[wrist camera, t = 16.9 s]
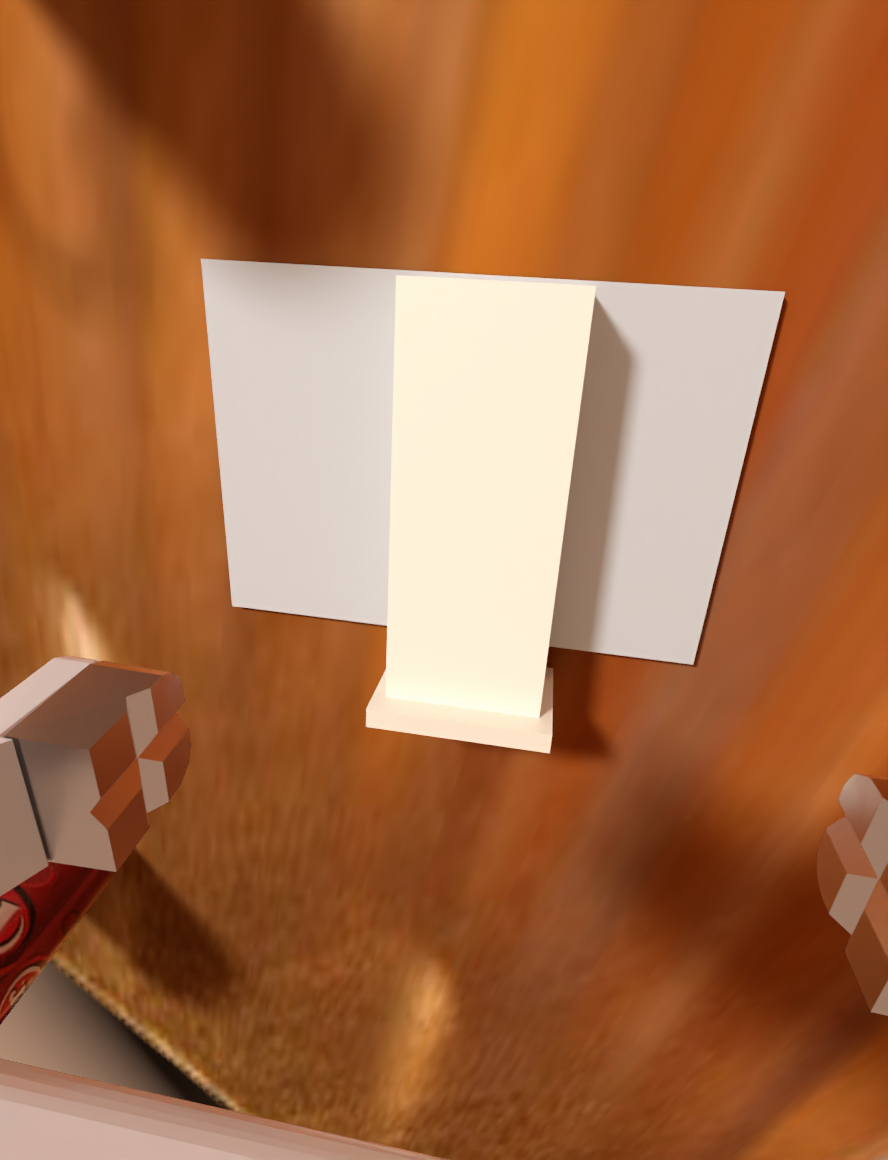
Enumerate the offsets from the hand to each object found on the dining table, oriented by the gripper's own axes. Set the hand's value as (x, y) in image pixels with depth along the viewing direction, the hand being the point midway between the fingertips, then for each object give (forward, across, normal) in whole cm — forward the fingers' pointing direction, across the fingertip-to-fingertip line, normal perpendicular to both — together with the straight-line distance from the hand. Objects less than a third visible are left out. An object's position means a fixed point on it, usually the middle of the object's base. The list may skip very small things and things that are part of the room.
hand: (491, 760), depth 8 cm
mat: (+18, +3, +2) cm, 19 cm away
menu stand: (+16, +2, +11) cm, 19 cm away
